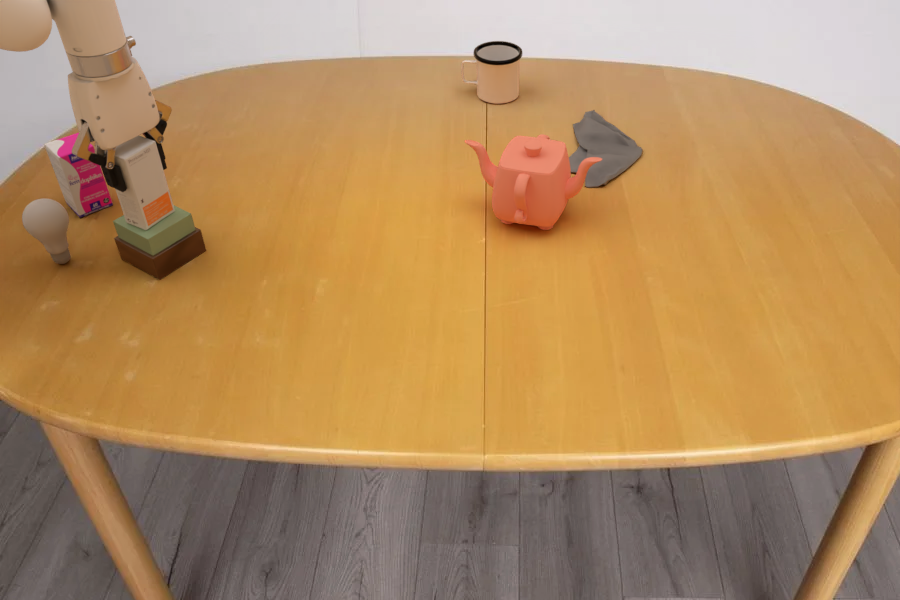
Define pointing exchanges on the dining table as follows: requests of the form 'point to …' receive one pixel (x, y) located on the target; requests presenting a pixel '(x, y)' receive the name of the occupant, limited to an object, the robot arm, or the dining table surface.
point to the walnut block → (163, 254)
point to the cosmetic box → (143, 183)
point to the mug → (496, 71)
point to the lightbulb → (48, 227)
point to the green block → (157, 231)
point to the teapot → (531, 180)
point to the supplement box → (78, 177)
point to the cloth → (602, 149)
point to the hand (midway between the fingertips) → (138, 176)
